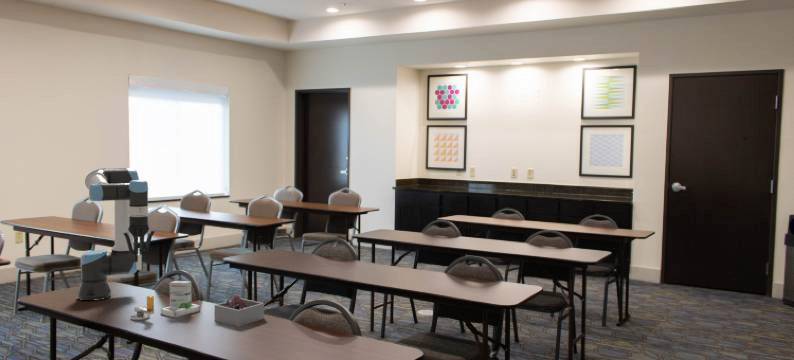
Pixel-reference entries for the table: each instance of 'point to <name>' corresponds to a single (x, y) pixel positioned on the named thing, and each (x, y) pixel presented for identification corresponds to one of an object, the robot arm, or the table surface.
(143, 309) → the crank
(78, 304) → the table surface
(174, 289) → the ink box
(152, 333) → the table surface
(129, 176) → the robot arm
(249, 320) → the parts crate
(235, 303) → the brake caliper
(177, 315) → the tray
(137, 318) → the crank base
